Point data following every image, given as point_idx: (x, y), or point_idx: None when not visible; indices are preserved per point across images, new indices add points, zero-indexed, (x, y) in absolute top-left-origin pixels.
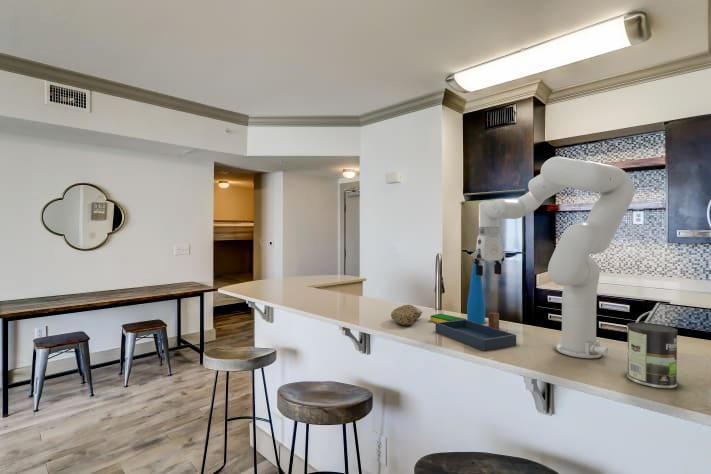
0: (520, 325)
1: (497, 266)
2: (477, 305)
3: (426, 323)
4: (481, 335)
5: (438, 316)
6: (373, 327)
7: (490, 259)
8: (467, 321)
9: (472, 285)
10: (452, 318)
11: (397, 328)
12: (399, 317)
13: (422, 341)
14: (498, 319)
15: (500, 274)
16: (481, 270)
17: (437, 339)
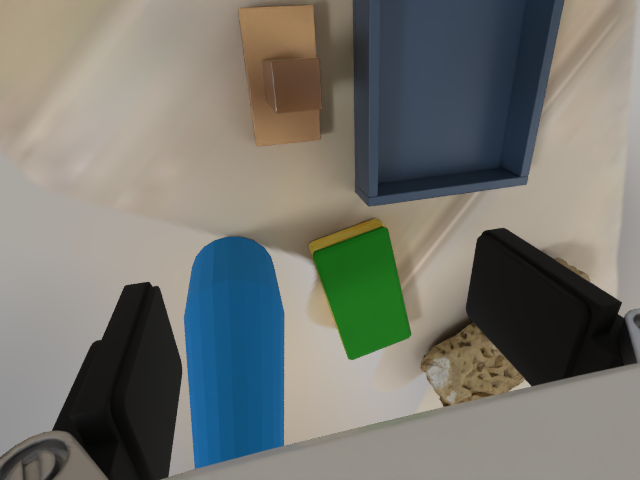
0: (28, 149)
1: (148, 419)
2: (257, 288)
3: (437, 295)
4: (400, 25)
5: (395, 315)
6: (608, 286)
7: (605, 385)
8: (377, 175)
9: (282, 406)
10: (366, 274)
11: (563, 258)
12: (588, 279)
13: (628, 74)
14: (272, 60)
15: (139, 286)
16: (548, 263)
17: (569, 76)
